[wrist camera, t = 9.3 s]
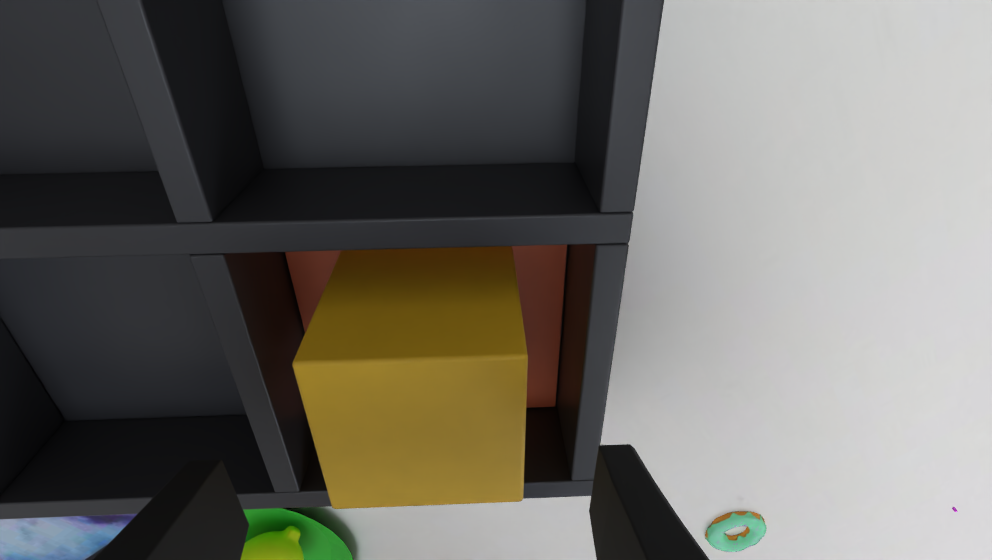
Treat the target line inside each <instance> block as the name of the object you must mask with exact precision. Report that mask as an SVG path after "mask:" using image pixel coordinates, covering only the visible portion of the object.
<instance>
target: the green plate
mask: <svg viewBox="0 0 992 560" xmlns="http://www.w3.org/2000/svg"><path fill="white" fill-rule="evenodd" d="M243 511H244V513H245V516H246V518H247V520H248V523H249V528H248V532H247V536H246V540H245V544H244V548H243V552H242V556H241V559H240V560H353V558H352V555H351V552H350V551H349V549H348V548H347V546H346V545H345V543H344V542H343V541H342V540H341V539H340V538H339V537H338V536H337V535H336V534H335V533H333V532H332V531H331V530H330V529H328V528H326V527H325V526H323V525H322V524H320V523H318V522H317V521H315V520H313V519H310V518H308V517H306V516H304V515H301V514H299V513H296V512H293V511H290V510H286V509H283V508H273V509H248V510H243Z"/></svg>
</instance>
